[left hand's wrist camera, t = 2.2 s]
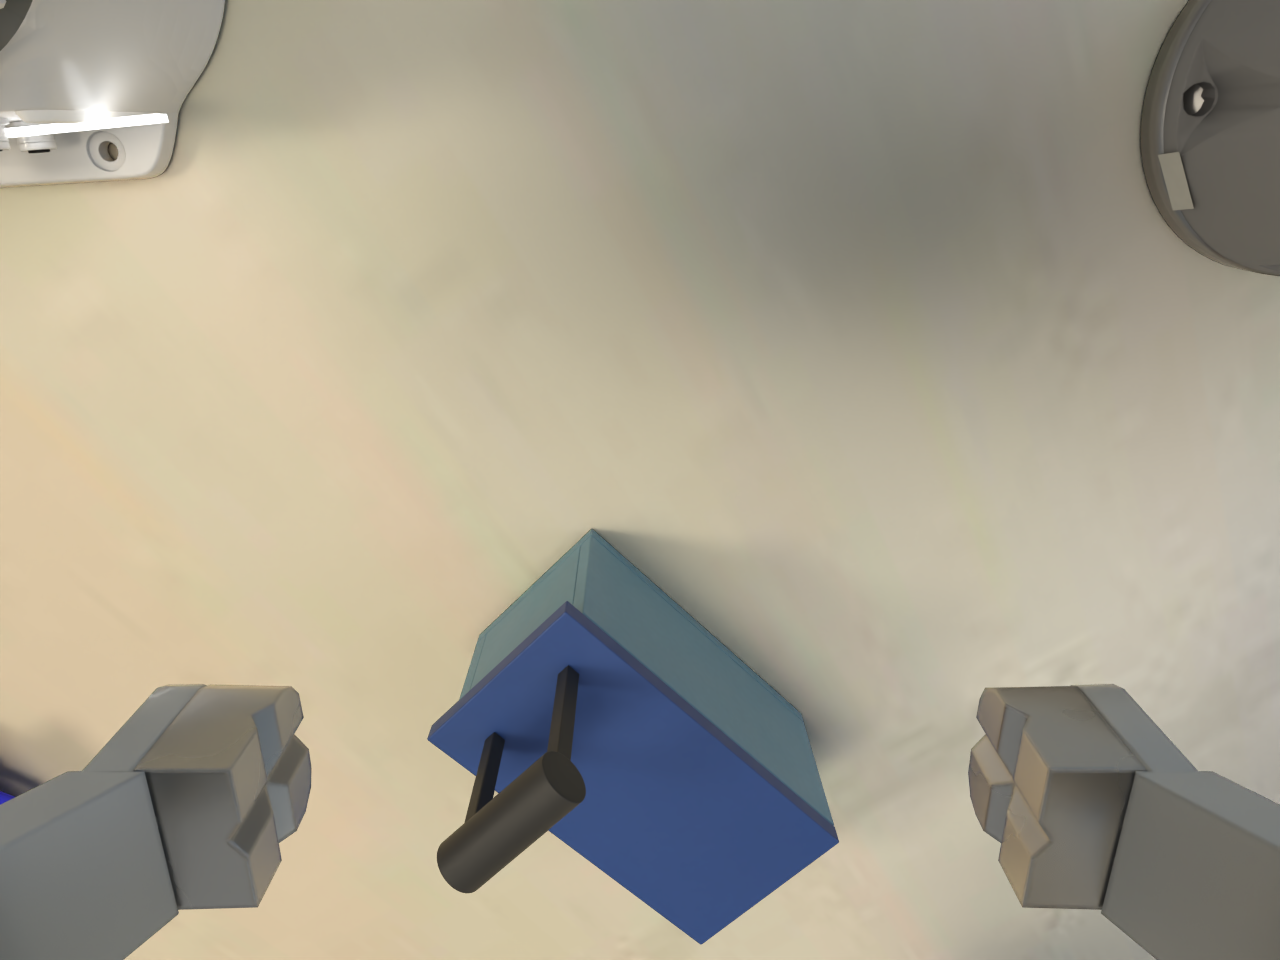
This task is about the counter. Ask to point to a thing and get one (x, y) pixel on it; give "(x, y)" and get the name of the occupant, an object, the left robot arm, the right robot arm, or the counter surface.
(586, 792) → the lid
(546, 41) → the counter surface
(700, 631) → the chest
